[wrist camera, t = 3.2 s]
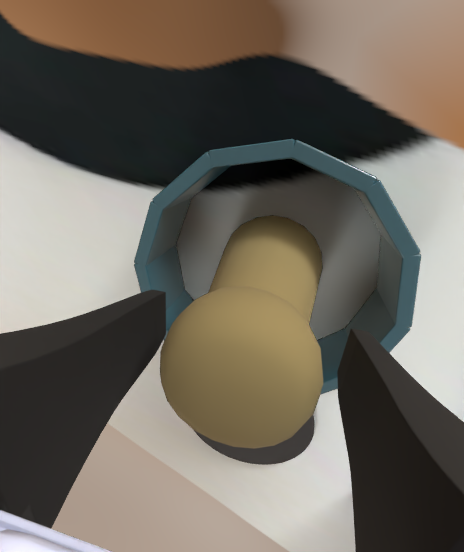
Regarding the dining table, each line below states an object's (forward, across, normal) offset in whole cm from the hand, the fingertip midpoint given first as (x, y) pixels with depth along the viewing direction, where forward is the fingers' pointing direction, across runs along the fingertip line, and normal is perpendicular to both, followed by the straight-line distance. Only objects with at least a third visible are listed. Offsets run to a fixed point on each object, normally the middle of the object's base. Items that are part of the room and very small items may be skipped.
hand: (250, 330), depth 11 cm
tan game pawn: (+8, 0, 0) cm, 8 cm away
